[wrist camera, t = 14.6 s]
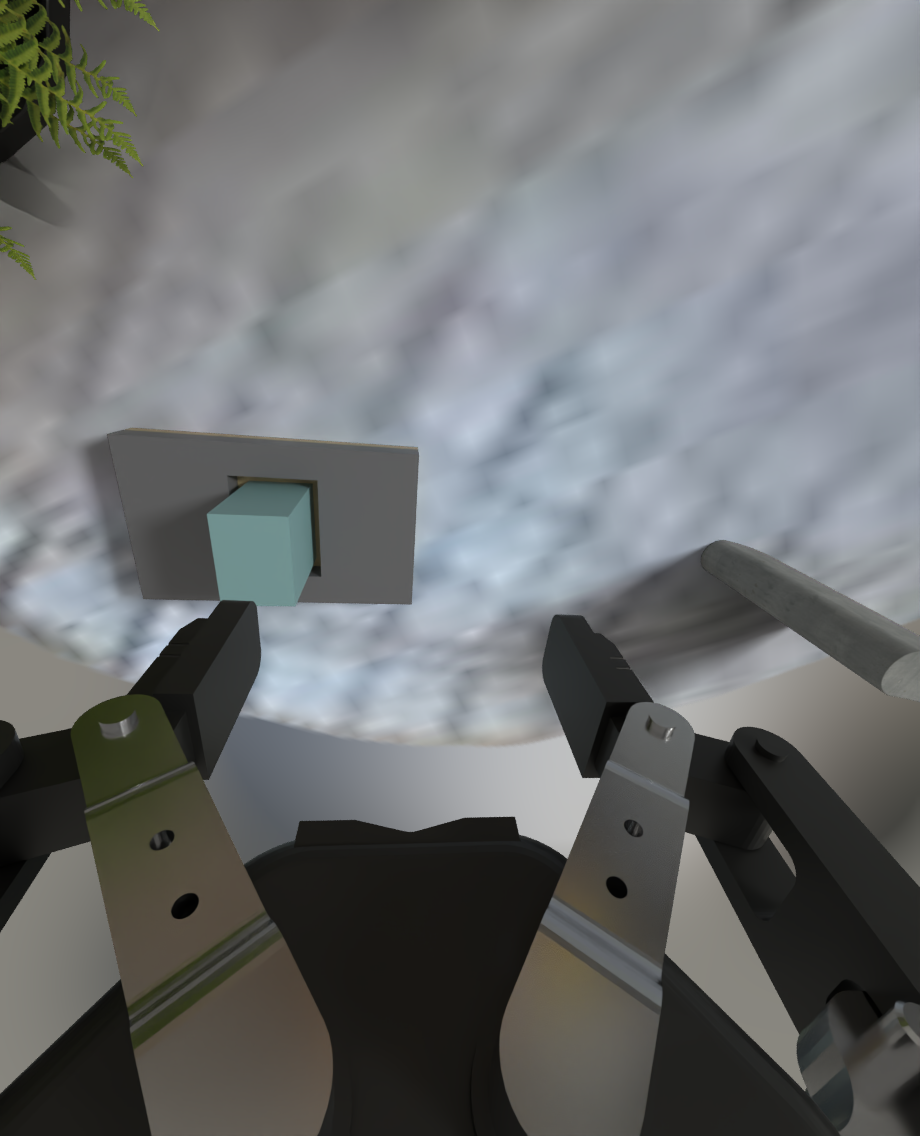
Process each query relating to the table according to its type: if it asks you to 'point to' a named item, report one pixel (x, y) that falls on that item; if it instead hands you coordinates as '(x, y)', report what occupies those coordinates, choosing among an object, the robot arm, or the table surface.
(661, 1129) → the robot arm
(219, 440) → the block
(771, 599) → the hip flask
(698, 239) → the table surface
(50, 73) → the fern plant
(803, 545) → the table surface
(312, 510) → the plug
